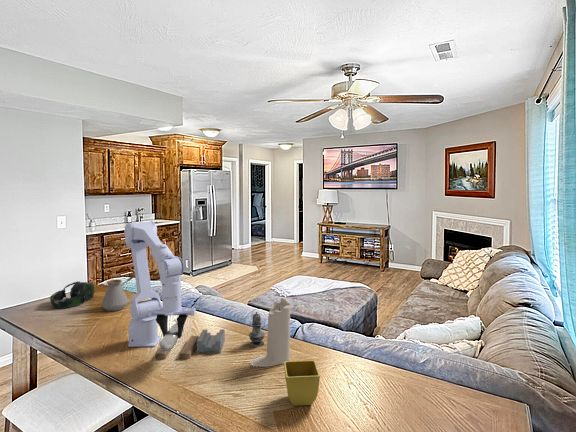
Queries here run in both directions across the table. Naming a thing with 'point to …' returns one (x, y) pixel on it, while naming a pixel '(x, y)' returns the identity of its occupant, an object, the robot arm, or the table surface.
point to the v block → (210, 342)
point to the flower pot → (302, 381)
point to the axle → (170, 338)
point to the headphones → (73, 295)
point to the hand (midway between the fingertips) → (172, 336)
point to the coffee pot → (115, 295)
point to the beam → (185, 352)
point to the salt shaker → (256, 332)
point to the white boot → (277, 336)
